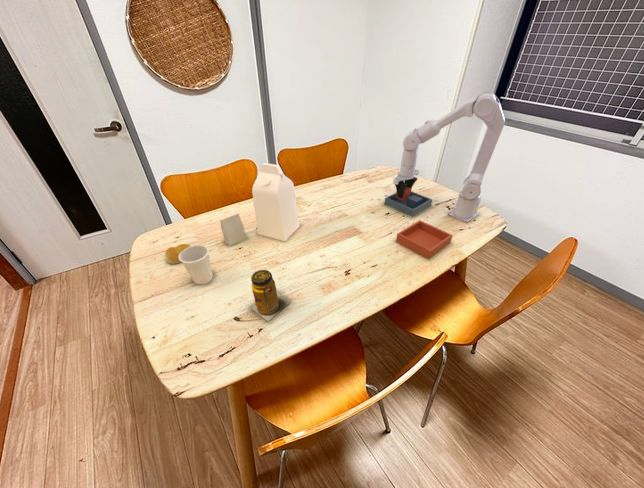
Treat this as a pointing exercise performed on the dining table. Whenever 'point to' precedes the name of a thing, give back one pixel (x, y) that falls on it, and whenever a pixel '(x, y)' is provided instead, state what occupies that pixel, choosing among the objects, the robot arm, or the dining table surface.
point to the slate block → (414, 201)
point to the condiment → (266, 295)
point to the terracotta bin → (424, 239)
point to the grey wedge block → (233, 229)
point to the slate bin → (401, 204)
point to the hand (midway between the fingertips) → (403, 195)
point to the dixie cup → (197, 263)
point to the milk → (275, 203)
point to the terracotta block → (405, 194)
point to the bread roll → (175, 253)
